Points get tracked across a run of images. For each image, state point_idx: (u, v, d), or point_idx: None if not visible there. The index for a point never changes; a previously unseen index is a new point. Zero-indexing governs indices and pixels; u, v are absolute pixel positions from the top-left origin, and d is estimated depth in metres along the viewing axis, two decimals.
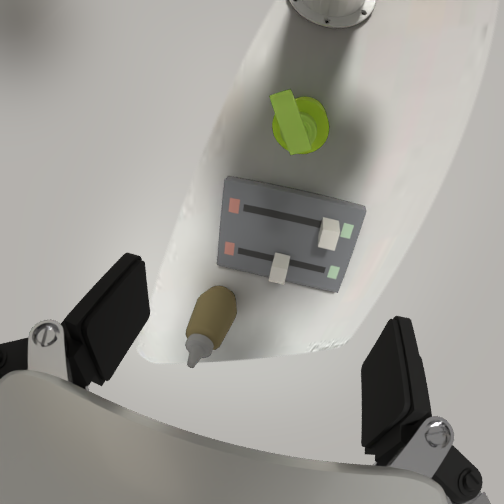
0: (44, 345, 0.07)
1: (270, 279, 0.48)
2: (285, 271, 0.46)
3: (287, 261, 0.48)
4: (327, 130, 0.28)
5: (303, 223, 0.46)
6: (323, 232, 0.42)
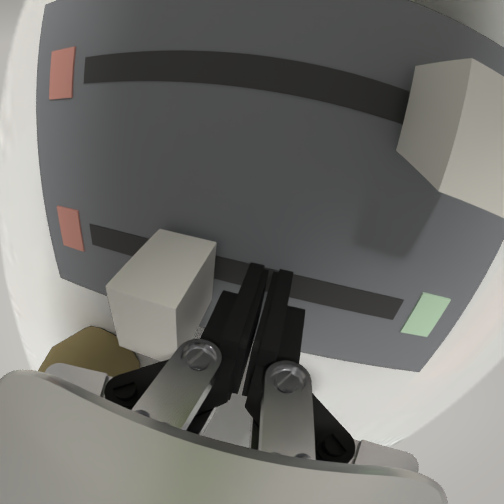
0: (190, 365, 0.07)
1: (123, 341, 0.10)
2: (168, 317, 0.09)
3: (193, 266, 0.10)
4: None
5: (325, 98, 0.09)
6: (476, 85, 0.04)
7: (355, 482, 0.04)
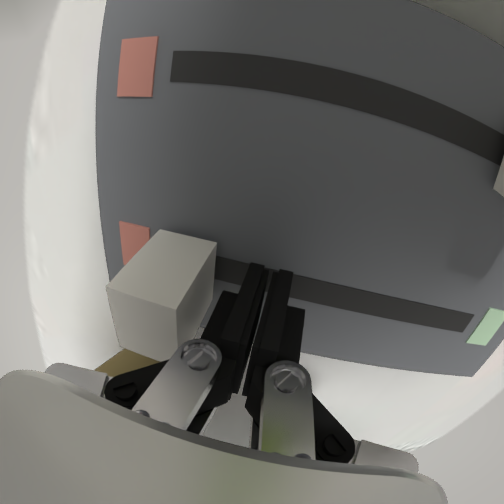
0: (190, 365, 0.07)
1: (123, 341, 0.10)
2: (169, 317, 0.09)
3: (193, 266, 0.10)
4: None
5: (443, 135, 0.08)
6: None
7: (355, 482, 0.04)
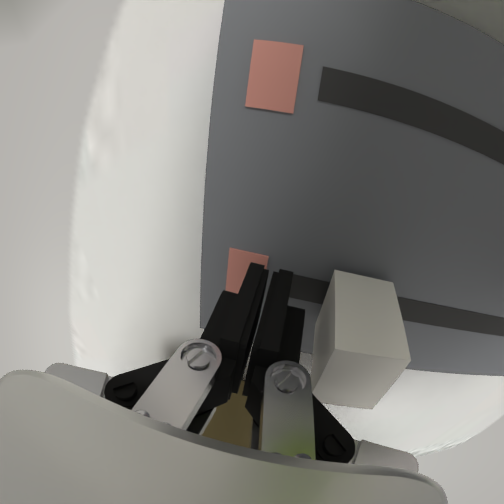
0: (190, 365, 0.07)
1: (318, 396, 0.09)
2: (397, 368, 0.08)
3: (394, 311, 0.10)
4: None
5: None
6: None
7: (355, 482, 0.04)
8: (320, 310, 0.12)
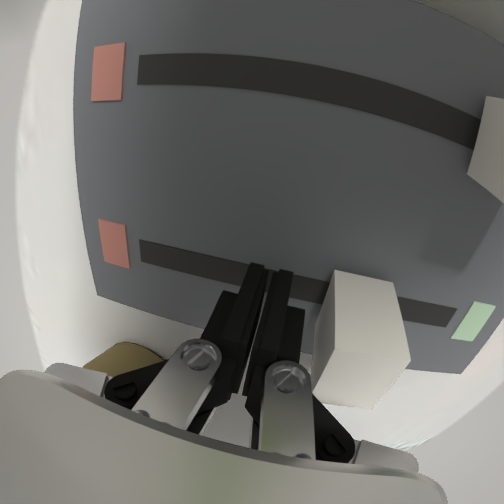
0: (190, 365, 0.07)
1: (318, 396, 0.09)
2: (397, 368, 0.08)
3: (394, 311, 0.10)
4: None
5: (408, 121, 0.08)
6: None
7: (355, 482, 0.04)
8: (320, 310, 0.12)
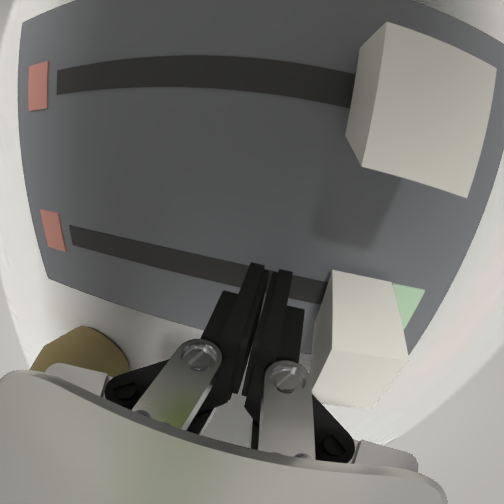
0: (190, 365, 0.07)
1: (316, 396, 0.09)
2: (395, 368, 0.08)
3: (392, 311, 0.10)
4: None
5: (271, 90, 0.09)
6: (394, 49, 0.04)
7: (355, 482, 0.04)
8: (319, 310, 0.12)
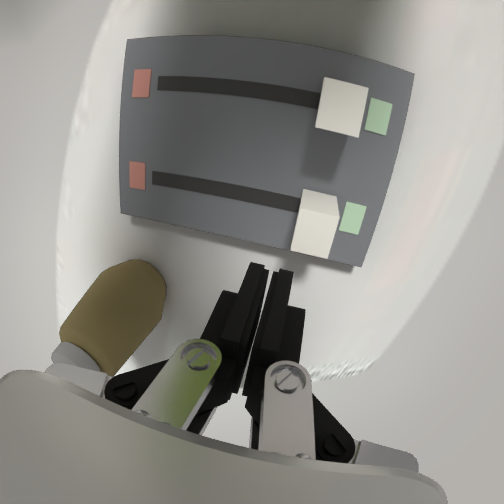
0: (190, 365, 0.07)
1: (295, 245, 0.19)
2: (333, 223, 0.18)
3: (333, 204, 0.20)
4: None
5: (281, 100, 0.19)
6: (326, 86, 0.14)
7: (355, 482, 0.04)
8: (297, 215, 0.23)
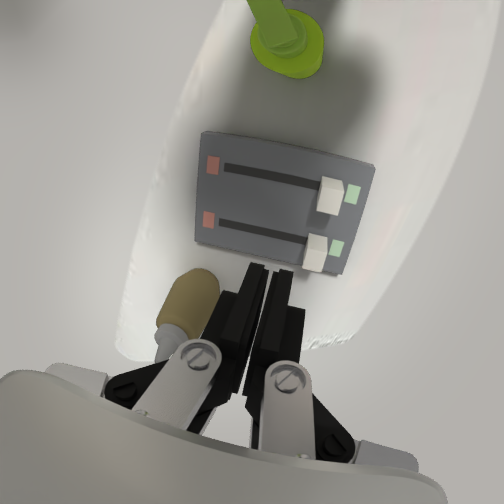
0: (190, 365, 0.07)
1: (304, 266, 0.37)
2: (324, 255, 0.36)
3: (325, 243, 0.38)
4: (321, 43, 0.19)
5: (298, 185, 0.37)
6: (323, 191, 0.32)
7: (355, 482, 0.04)
8: None
